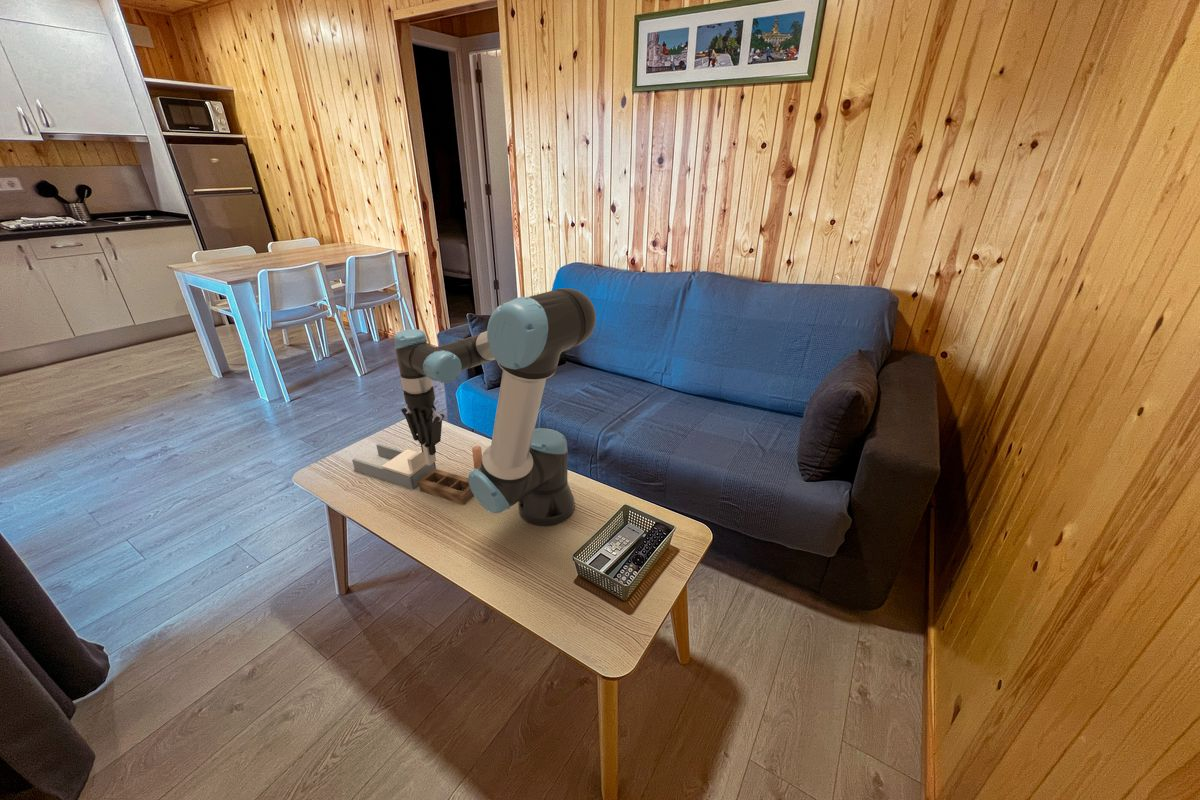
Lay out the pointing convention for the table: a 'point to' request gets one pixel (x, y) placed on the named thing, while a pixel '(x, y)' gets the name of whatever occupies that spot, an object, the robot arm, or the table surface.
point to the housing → (389, 475)
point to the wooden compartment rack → (443, 480)
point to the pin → (477, 456)
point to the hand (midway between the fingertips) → (430, 462)
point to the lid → (406, 463)
